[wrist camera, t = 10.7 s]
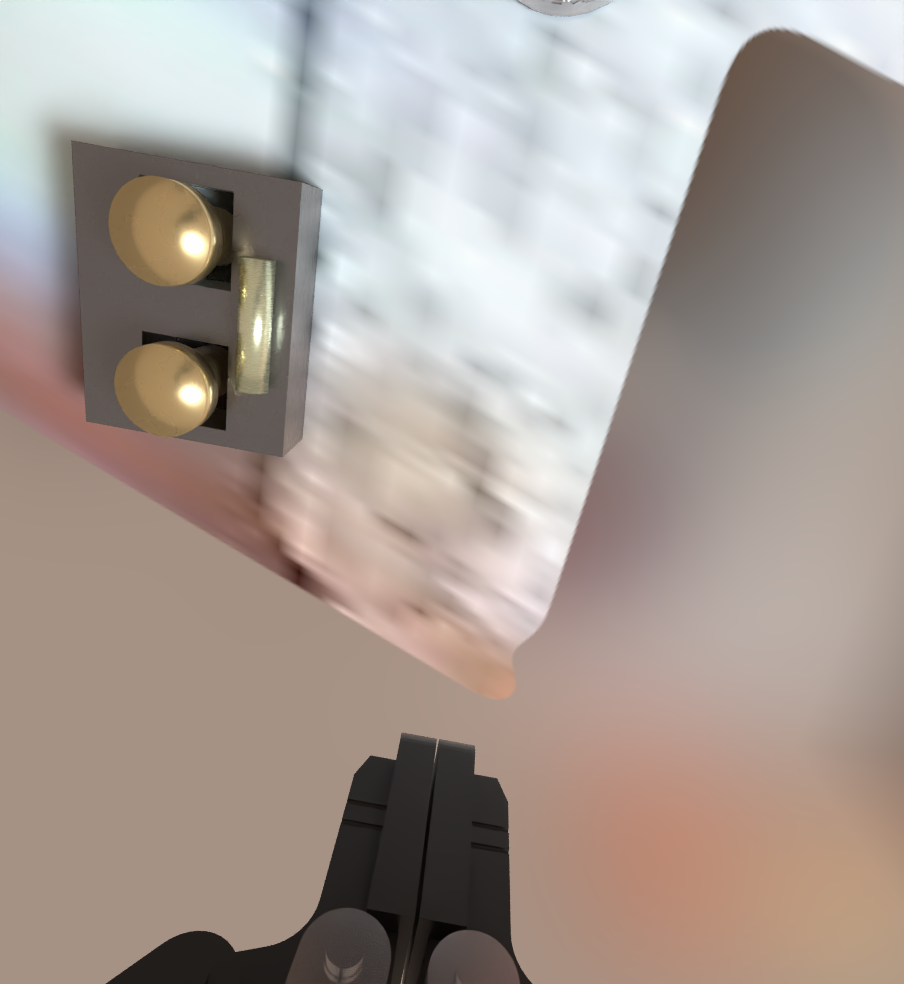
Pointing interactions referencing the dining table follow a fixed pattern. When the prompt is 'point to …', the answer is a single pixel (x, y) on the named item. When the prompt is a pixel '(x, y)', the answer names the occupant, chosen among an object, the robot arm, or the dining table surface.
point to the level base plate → (205, 297)
